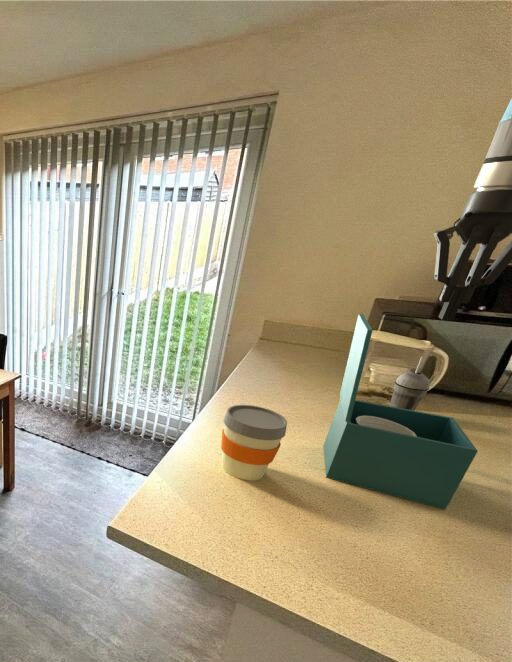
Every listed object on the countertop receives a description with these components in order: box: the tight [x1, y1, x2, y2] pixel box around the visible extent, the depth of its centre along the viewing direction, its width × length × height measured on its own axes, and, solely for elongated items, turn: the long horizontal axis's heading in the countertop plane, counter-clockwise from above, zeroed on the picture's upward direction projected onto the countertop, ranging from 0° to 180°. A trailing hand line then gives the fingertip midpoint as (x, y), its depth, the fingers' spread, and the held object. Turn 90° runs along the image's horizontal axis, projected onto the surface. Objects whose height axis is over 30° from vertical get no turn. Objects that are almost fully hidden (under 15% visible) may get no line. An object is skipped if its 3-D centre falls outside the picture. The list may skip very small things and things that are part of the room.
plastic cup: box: [356, 416, 417, 437], centre depth 93 cm, size 11×11×12 cm
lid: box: [339, 313, 373, 422], centre depth 90 cm, size 21×17×1 cm
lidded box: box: [322, 398, 478, 510], centre depth 92 cm, size 20×17×15 cm
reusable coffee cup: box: [220, 404, 288, 481], centre depth 94 cm, size 13×13×15 cm
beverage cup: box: [389, 356, 431, 411], centre depth 115 cm, size 7×7×20 cm
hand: (445, 318), depth 79 cm, fingers closed
